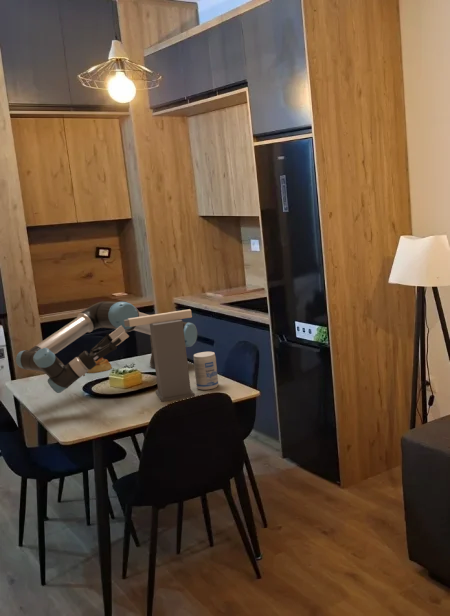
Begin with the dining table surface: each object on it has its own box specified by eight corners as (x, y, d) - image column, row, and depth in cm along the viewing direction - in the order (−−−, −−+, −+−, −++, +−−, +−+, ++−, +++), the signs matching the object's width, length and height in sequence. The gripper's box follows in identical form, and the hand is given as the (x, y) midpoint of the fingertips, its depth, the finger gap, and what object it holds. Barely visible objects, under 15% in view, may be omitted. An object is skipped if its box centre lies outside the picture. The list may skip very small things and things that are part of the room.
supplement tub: (211, 391, 273) (207, 357, 271) (192, 389, 278) (188, 356, 275) (222, 384, 281) (219, 351, 279) (204, 383, 286) (200, 350, 284)
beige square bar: (124, 326, 266) (123, 319, 266) (190, 316, 273) (189, 309, 272) (125, 327, 263) (124, 320, 263) (192, 317, 270) (191, 310, 269)
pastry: (80, 369, 334) (78, 354, 333) (109, 364, 339) (107, 349, 337) (83, 375, 322) (81, 360, 320) (113, 370, 326) (111, 354, 325)
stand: (155, 392, 279) (146, 320, 274) (187, 387, 283) (178, 315, 277) (161, 401, 266) (151, 326, 260) (194, 395, 269) (185, 320, 264)
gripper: (87, 363, 275) (127, 332, 277) (90, 377, 251) (134, 343, 253) (76, 349, 273) (116, 318, 275) (78, 363, 249) (122, 329, 251)
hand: (125, 330), depth 264 cm, fingers open, 13 cm apart
